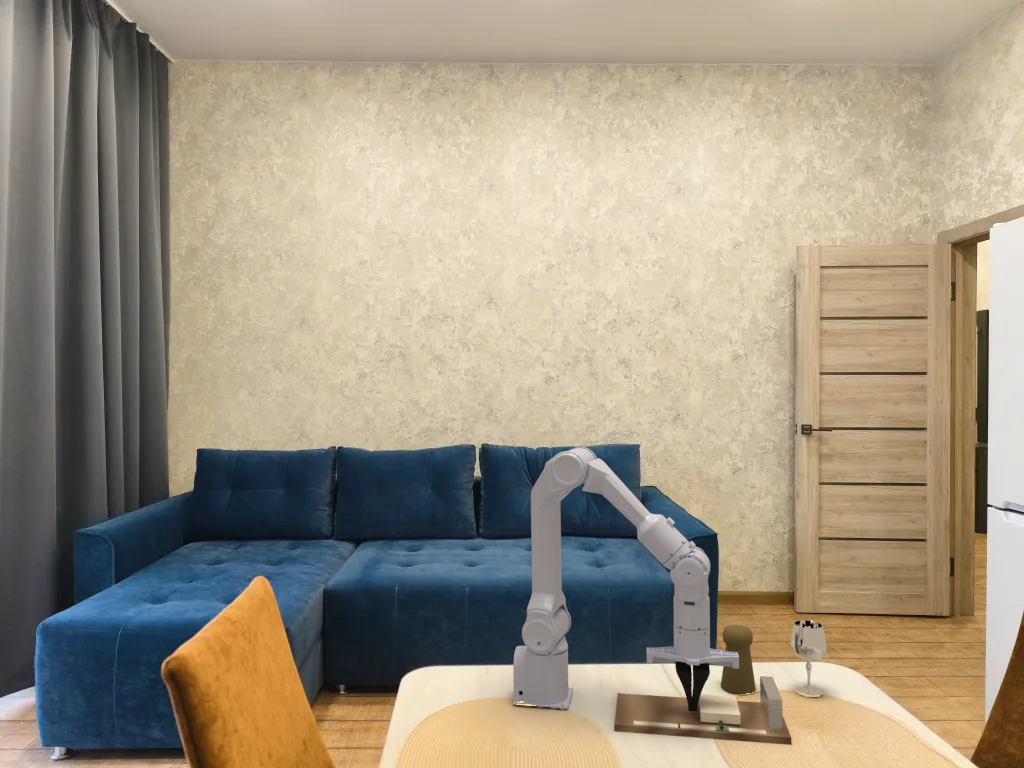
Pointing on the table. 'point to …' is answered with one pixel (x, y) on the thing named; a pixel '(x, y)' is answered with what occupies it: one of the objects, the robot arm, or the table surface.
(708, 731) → the gauge base
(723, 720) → the carriage
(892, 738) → the table surface
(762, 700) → the gray stone tile
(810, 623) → the wineglass
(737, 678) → the cork
